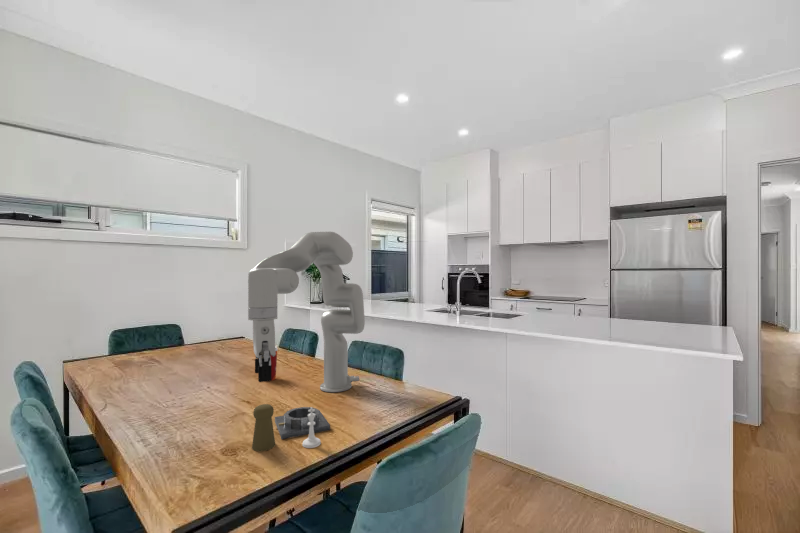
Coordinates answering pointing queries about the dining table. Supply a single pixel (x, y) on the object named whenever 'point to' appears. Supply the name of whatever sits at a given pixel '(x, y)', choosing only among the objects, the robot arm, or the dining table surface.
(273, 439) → the olive game pawn
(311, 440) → the chess piece
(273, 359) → the paper cup
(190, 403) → the dining table surface
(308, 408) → the socket
